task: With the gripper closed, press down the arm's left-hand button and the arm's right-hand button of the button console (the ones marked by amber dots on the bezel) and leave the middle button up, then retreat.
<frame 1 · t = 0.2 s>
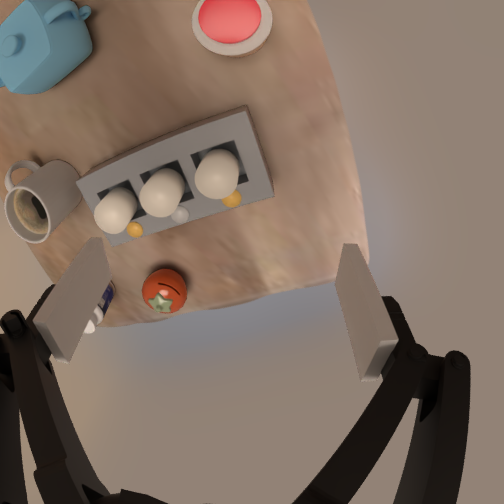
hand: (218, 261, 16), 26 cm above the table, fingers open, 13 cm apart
button 1: (116, 210, 36), point 7 cm above the table, slide at 0.0 cm
pill bottle 2: (102, 284, 53), on the table
console: (175, 172, 41), on the table
tomato: (169, 277, 51), on the table
button 2: (218, 173, 34), point 7 cm above the table, slide at 0.0 cm
button middle: (162, 192, 35), point 7 cm above the table, slide at 0.0 cm
mug: (58, 179, 41), on the table
pill bottle: (236, 29, 30), on the table
teapot: (53, 48, 29), on the table
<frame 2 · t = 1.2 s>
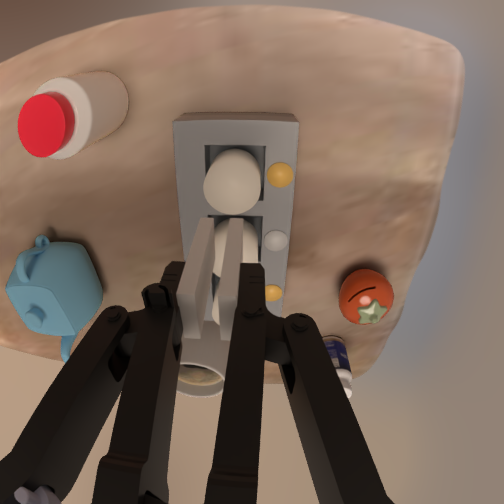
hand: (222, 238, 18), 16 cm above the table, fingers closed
button 1: (234, 302, 34), point 7 cm above the table, slide at 0.0 cm
pill bottle 2: (327, 345, 49), on the table
console: (237, 216, 36), on the table
tomato: (358, 279, 41), on the table
button 2: (233, 180, 26), point 7 cm above the table, slide at 0.0 cm
button middle: (233, 248, 30), point 7 cm above the table, slide at 0.0 cm
mug: (196, 326, 47), on the table
pill bottle: (98, 103, 28), on the table
teapot: (72, 274, 42), on the table
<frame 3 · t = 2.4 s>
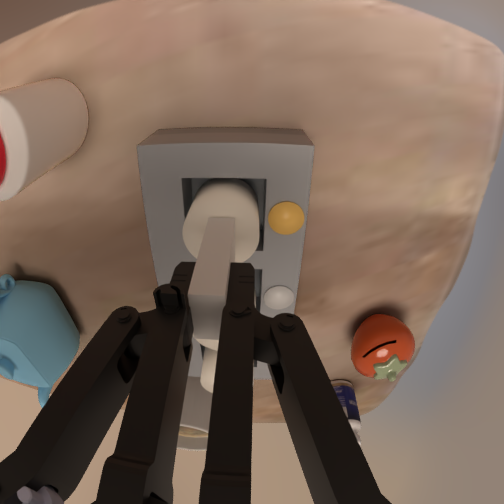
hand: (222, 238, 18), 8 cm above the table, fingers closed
button 1: (228, 365, 27), point 7 cm above the table, slide at 0.0 cm
pill bottle 2: (333, 387, 42), on the table
console: (230, 259, 29), on the table
tomato: (374, 324, 34), on the table
button 2: (223, 220, 20), point 6 cm above the table, slide at 1.2 cm, touching gripper
button middle: (225, 311, 23), point 7 cm above the table, slide at 0.0 cm
mug: (186, 371, 39), on the table
pill bottle: (54, 119, 21), on the table
teapot: (45, 313, 34), on the table
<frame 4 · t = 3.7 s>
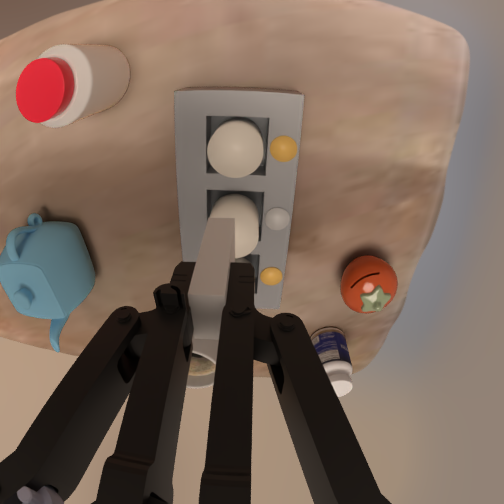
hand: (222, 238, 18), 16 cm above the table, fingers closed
button 1: (232, 284, 32), point 7 cm above the table, slide at 0.0 cm
pill bottle 2: (326, 336, 47), on the table
console: (237, 195, 34), on the table
tomato: (361, 267, 40), on the table
button 2: (236, 146, 26), point 5 cm above the table, slide at 1.8 cm
button middle: (233, 225, 29), point 7 cm above the table, slide at 0.0 cm
mug: (191, 314, 45), on the table
pill bottle: (99, 77, 26), on the table
teapot: (64, 256, 40), on the table
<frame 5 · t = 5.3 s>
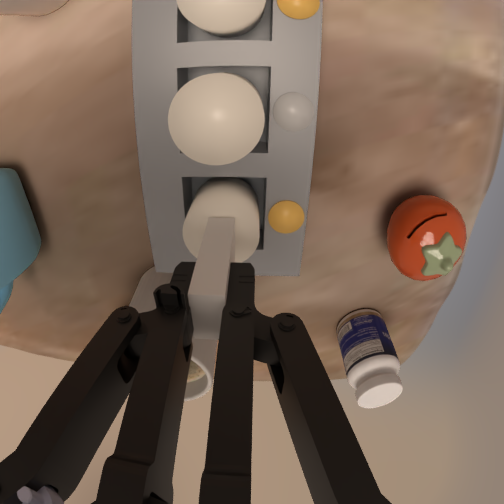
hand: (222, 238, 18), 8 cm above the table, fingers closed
button 1: (223, 219, 20), point 6 cm above the table, slide at 1.1 cm, touching gripper
pill bottle 2: (358, 323, 34), on the table
console: (229, 101, 21), on the table
tomato: (409, 216, 26), on the table
button middle: (219, 114, 15), point 7 cm above the table, slide at 0.0 cm
mug: (170, 294, 32), on the table
teapot: (8, 220, 27), on the table
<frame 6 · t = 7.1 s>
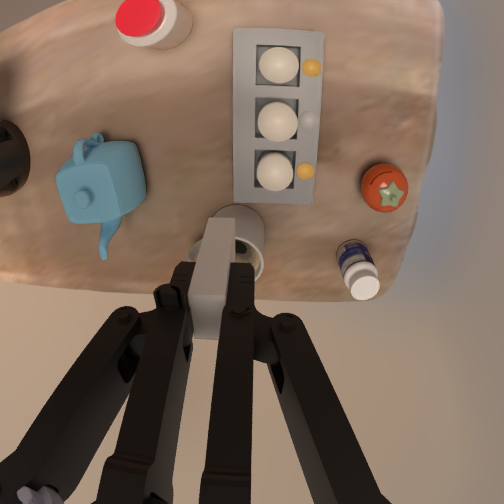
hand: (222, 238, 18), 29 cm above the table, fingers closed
button 1: (274, 169, 40), point 5 cm above the table, slide at 1.8 cm
pill bottle 2: (351, 252, 53), on the table
console: (275, 113, 41), on the table
tomato: (376, 178, 46), on the table
button 2: (278, 65, 33), point 5 cm above the table, slide at 1.8 cm
button middle: (277, 120, 35), point 7 cm above the table, slide at 0.0 cm
mug: (231, 227, 52), on the table
pill bottle: (166, 25, 34), on the table
teapot: (116, 178, 47), on the table
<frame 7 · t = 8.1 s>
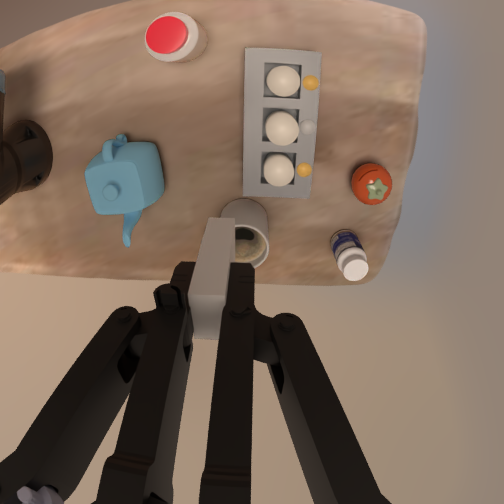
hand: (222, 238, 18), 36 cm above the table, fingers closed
button 1: (278, 168, 48), point 5 cm above the table, slide at 1.8 cm
pill bottle 2: (343, 240, 61), on the table
console: (278, 120, 48), on the table
tomato: (365, 176, 53), on the table
button 2: (282, 80, 40), point 5 cm above the table, slide at 1.8 cm
button middle: (281, 127, 42), point 7 cm above the table, slide at 0.0 cm
mug: (238, 219, 59), on the table
pill bottle: (184, 40, 40), on the table
teapot: (136, 175, 54), on the table
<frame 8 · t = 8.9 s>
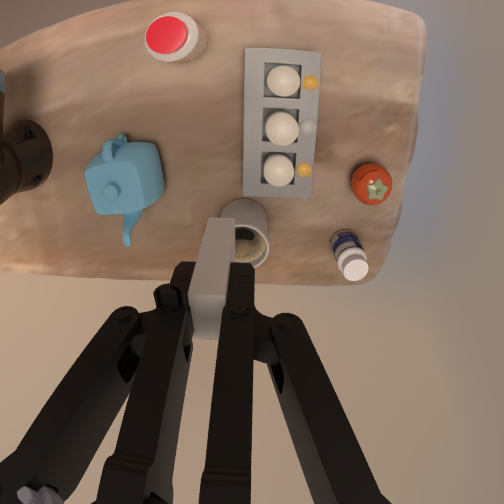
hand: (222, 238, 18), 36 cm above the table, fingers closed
button 1: (278, 168, 48), point 5 cm above the table, slide at 1.8 cm
pill bottle 2: (343, 240, 61), on the table
console: (278, 120, 48), on the table
tomato: (365, 176, 53), on the table
button 2: (282, 80, 40), point 5 cm above the table, slide at 1.8 cm
button middle: (281, 127, 42), point 7 cm above the table, slide at 0.0 cm
mug: (238, 219, 59), on the table
pill bottle: (184, 40, 40), on the table
teapot: (136, 175, 54), on the table
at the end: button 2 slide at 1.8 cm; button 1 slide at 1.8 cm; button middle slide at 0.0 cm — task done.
